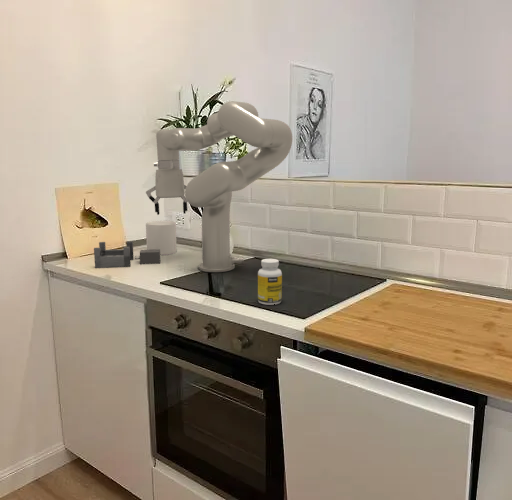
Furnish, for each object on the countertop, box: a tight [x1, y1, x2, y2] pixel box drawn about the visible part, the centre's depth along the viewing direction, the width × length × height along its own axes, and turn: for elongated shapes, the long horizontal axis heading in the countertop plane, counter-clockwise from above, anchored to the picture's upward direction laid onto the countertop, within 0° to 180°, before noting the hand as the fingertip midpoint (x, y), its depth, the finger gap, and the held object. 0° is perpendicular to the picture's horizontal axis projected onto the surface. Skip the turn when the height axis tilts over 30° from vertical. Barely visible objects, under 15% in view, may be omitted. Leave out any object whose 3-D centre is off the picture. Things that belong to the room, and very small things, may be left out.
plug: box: [134, 249, 161, 265], centre depth 185 cm, size 9×5×4 cm, turn 98°
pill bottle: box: [257, 258, 283, 306], centre depth 137 cm, size 6×6×12 cm
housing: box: [93, 240, 135, 269], centre depth 183 cm, size 12×12×7 cm
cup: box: [145, 220, 177, 256], centre depth 202 cm, size 12×12×12 cm
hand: (171, 213), depth 183 cm, fingers open, 9 cm apart
